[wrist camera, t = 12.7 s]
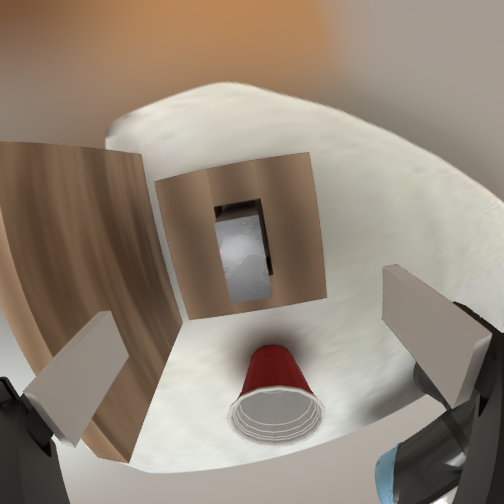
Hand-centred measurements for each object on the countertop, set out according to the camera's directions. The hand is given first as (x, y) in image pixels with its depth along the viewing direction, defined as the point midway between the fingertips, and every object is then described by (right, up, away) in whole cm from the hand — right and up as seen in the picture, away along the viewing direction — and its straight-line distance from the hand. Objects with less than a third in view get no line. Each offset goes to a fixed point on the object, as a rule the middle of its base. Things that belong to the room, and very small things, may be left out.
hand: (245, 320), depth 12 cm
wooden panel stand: (-4, +5, +20) cm, 21 cm away
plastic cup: (+3, -12, +25) cm, 28 cm away
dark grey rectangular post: (0, +6, +19) cm, 19 cm away
